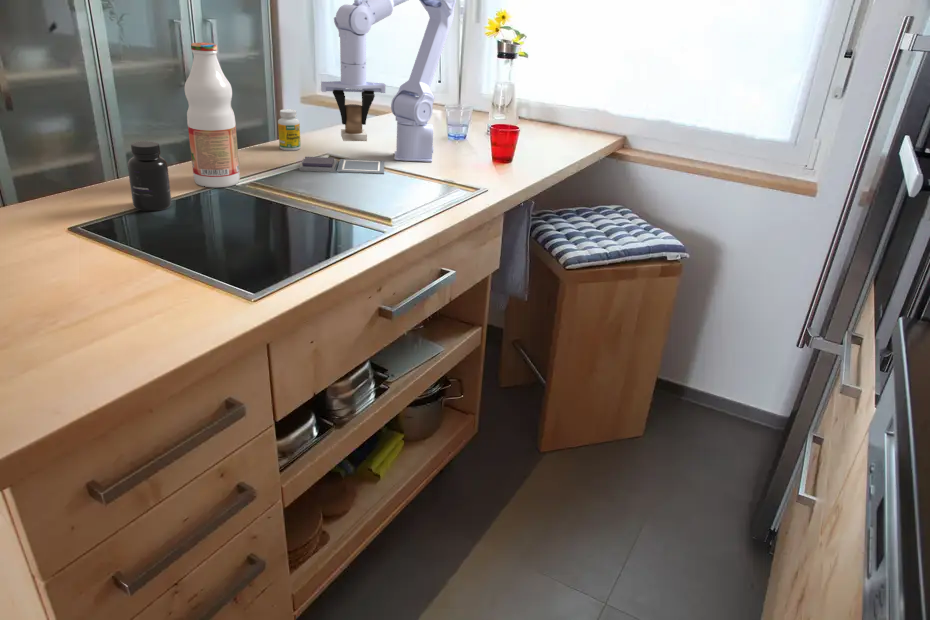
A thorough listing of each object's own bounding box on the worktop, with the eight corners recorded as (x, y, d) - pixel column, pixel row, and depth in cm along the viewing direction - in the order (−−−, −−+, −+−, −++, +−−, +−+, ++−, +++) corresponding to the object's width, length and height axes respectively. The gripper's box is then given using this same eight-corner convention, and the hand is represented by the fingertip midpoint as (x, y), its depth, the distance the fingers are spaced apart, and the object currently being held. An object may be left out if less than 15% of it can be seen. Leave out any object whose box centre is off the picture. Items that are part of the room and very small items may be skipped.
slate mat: (384, 162, 171) (384, 160, 171) (383, 174, 161) (383, 172, 161) (340, 160, 170) (340, 158, 170) (336, 172, 160) (336, 170, 160)
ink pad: (336, 164, 166) (336, 157, 166) (334, 172, 160) (334, 164, 159) (303, 162, 166) (303, 155, 165) (299, 170, 159) (299, 163, 159)
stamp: (364, 135, 165) (364, 103, 162) (366, 141, 161) (366, 108, 157) (341, 135, 164) (340, 103, 160) (343, 141, 159) (342, 108, 156)
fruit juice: (215, 191, 142) (200, 47, 129) (184, 182, 146) (167, 42, 133) (249, 181, 149) (239, 45, 136) (219, 173, 153) (207, 40, 141)
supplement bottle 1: (135, 213, 127) (125, 149, 122) (132, 202, 132) (122, 140, 127) (174, 210, 130) (166, 147, 125) (170, 199, 135) (162, 138, 130)
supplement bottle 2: (293, 145, 180) (292, 107, 176) (304, 149, 177) (303, 111, 173) (275, 147, 177) (273, 109, 173) (286, 151, 174) (284, 113, 169)
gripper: (382, 61, 160) (382, 120, 166) (319, 59, 156) (321, 119, 162) (387, 65, 154) (386, 126, 160) (321, 63, 150) (323, 126, 156)
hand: (353, 123), depth 161 cm, fingers closed on stamp, 4 cm apart
